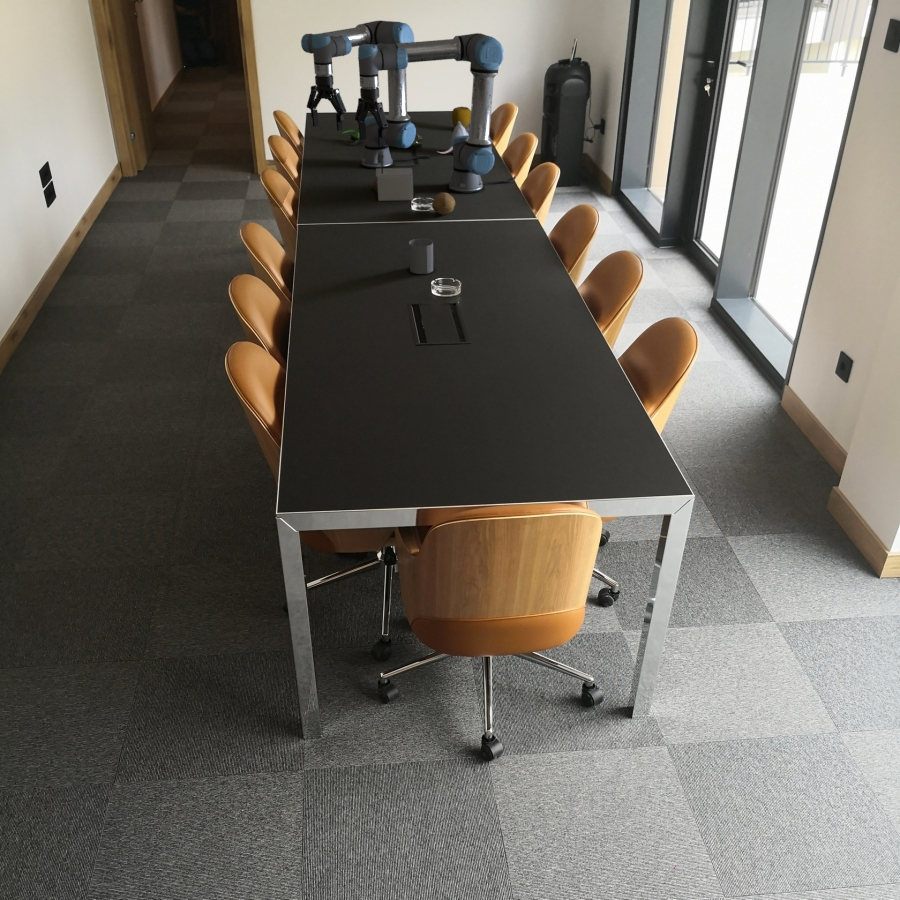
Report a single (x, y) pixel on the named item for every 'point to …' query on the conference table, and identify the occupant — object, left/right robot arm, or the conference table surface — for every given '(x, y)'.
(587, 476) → the conference table surface
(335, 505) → the conference table surface
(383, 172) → the lid
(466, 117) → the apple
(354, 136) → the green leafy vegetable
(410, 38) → the left robot arm
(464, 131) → the toy
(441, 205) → the potato
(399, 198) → the chest
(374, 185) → the block
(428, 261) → the cup
